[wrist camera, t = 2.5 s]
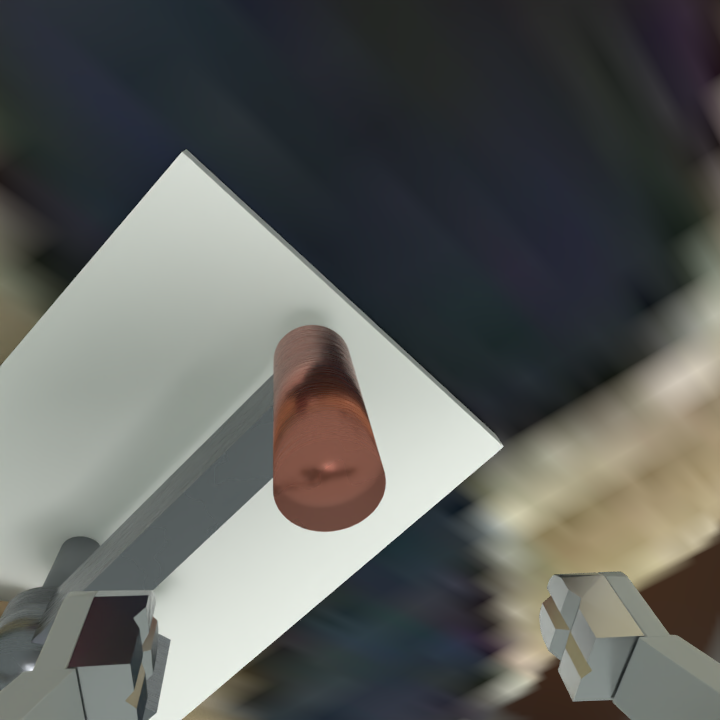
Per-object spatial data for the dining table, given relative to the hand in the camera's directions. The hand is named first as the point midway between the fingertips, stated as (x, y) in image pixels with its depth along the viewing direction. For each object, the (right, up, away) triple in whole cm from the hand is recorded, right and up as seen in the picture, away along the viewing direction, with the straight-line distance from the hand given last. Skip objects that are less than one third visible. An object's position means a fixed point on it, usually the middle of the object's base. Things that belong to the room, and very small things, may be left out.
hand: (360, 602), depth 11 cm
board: (-11, -4, +19) cm, 22 cm away
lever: (-7, -2, +13) cm, 15 cm away
